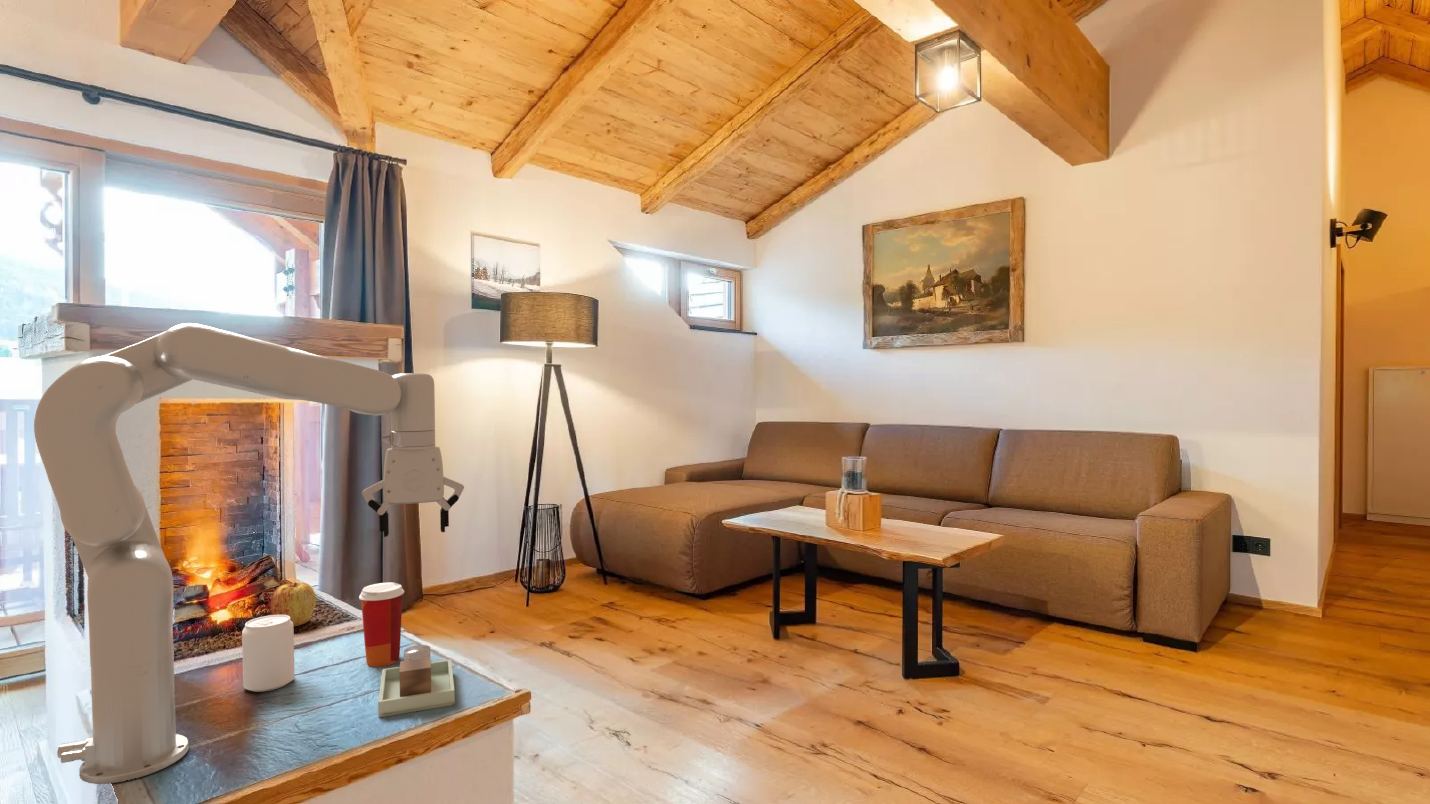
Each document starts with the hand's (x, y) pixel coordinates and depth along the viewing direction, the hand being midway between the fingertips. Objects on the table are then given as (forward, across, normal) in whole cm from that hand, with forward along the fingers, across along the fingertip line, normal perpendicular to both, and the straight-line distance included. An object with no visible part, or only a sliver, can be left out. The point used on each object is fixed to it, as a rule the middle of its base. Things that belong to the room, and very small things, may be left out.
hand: (414, 533), depth 132 cm
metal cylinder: (+28, 0, 0) cm, 28 cm away
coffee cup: (+28, -6, +15) cm, 33 cm away
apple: (+28, -26, +47) cm, 61 cm away
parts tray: (+28, 0, -4) cm, 29 cm away
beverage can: (+28, -26, +11) cm, 40 cm away
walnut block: (+28, 0, -8) cm, 29 cm away
